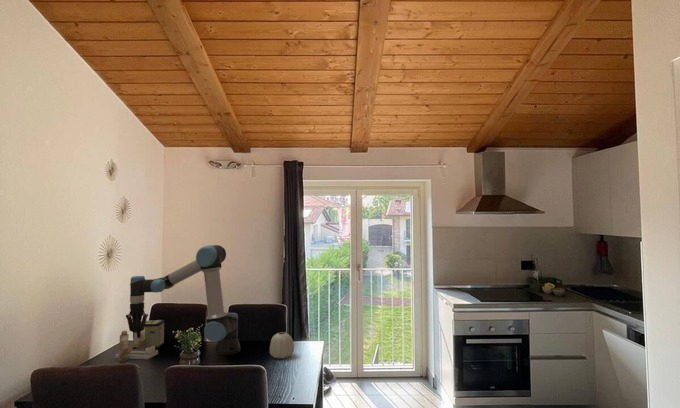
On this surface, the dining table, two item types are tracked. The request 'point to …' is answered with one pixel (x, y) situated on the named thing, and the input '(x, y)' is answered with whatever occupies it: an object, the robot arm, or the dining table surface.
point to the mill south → (141, 341)
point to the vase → (281, 345)
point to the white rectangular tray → (139, 354)
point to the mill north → (123, 346)
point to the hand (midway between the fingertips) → (136, 343)
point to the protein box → (153, 334)
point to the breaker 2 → (150, 349)
